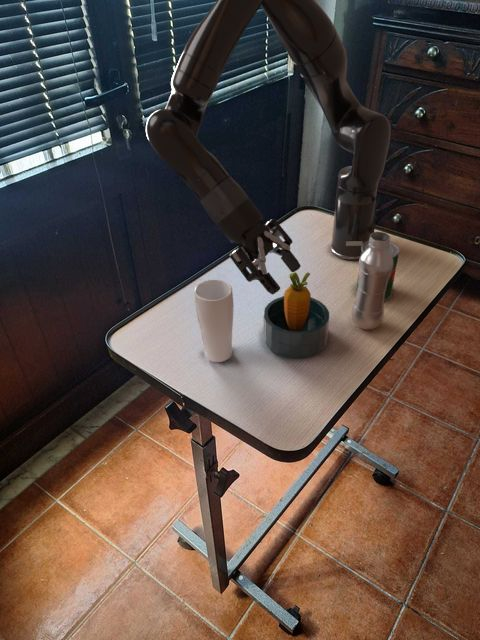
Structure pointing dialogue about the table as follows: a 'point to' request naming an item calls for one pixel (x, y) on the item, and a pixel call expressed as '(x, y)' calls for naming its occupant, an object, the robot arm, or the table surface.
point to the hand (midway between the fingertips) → (287, 280)
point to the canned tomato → (394, 253)
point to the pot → (293, 341)
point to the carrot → (297, 303)
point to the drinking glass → (215, 318)
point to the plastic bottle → (372, 282)
